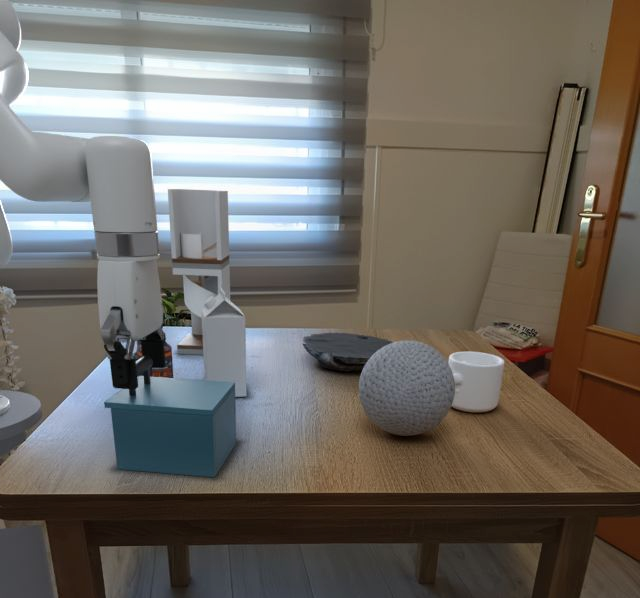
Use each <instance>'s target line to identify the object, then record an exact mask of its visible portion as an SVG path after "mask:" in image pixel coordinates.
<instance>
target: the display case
mask: <svg viewBox="0 0 640 598" xmlns="http://www.w3.org/2000/svg"><path fill="white" fill-rule="evenodd" d="M167 199H168V215H169V232H170V249H171V250H170V251H171V261H172V262H171V264H172V265H171V266H172V267H171V268H172V275H179V276H182V281H183V282H182V283H183V295H184V296H183V298H184V299H183V300H184V305H185V306H186V308H187V309H188V310H189V311H190V319H191V320H190V321H191V322H190V323H191V333H189V332H188V333H187V334H186V335H185V336H184V337H183V338H182V339H181V340H180V341H179V342H178V343H177V345H176V347H177V349H176V350H177V354H178V355H203V334H202V309H203V308H204V307H205V305H204V302H205V301H206V300H207V299H208V298H209V297H211V296H213V298H215V297H216V296H217V295H218V294H219V293H220V287H221V288H222V290H223V291H224V293H225V297H226V298H227V299H229V300H230V301H231V272H230V270H231V269H230V268H231V267H230V266H231V265H230V230H229V229H230V228H229V225H230V223H229V191H228V190H217V189H214V190H212V189H190V188H186V189H185V188H167Z"/></svg>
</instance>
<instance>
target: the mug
mask: <svg viewBox="0 0 640 598" xmlns="http://www.w3.org/2000/svg"><path fill="white" fill-rule="evenodd" d="M447 362H448V364H449V366H450V368H451V370H452V373H453V376H454V381H455V395H454V399H453V403H452V406H451V408H453V409H455V410H458V411H462V412H465V413H466V412H467V413H487V412H490V411H492V410H494V409H495V408H497V406H498V404H499V399H500V393H501V387H502V382H503V376H504V371H505V370H504V369H505V362H506V361H505V360H504V359H503V358H502V357H500V356H498V355H495V354H492V353H487V352H480V351H456V352H453V353H451V354H450V355H449V356H448V361H447Z"/></svg>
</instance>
